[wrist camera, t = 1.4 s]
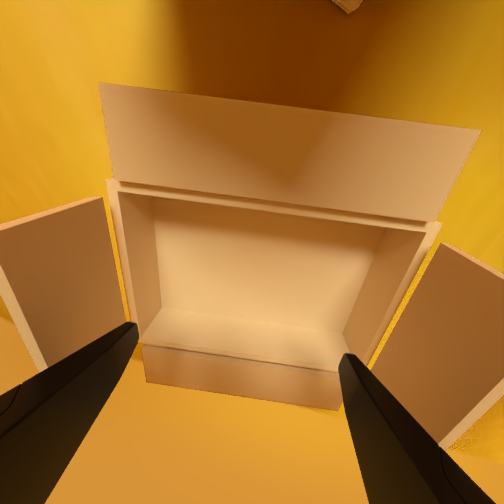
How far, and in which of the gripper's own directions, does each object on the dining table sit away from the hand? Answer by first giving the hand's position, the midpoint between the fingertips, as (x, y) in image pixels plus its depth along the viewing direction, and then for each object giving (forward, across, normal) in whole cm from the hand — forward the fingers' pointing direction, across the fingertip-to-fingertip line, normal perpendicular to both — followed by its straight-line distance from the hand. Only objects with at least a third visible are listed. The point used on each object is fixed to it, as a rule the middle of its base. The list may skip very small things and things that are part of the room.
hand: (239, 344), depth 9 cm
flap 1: (+1, +7, 0) cm, 7 cm away
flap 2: (+1, -8, 0) cm, 8 cm away
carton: (+7, -1, 0) cm, 7 cm away
